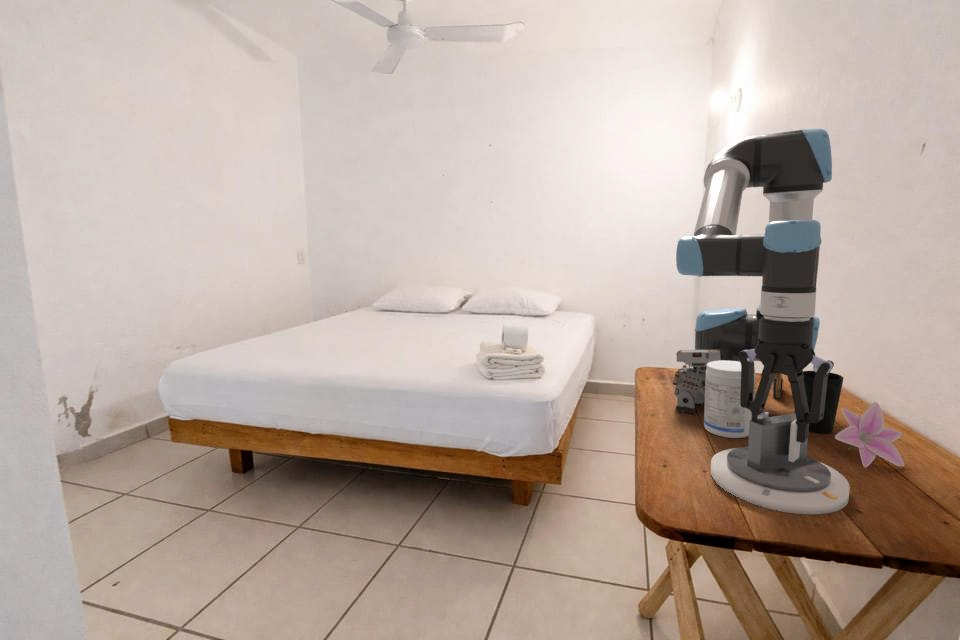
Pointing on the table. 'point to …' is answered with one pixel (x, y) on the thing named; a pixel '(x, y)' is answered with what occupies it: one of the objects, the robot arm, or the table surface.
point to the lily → (870, 436)
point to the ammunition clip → (777, 386)
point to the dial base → (782, 491)
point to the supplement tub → (725, 400)
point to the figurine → (692, 377)
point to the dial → (777, 458)
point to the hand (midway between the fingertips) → (777, 454)
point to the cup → (830, 402)
